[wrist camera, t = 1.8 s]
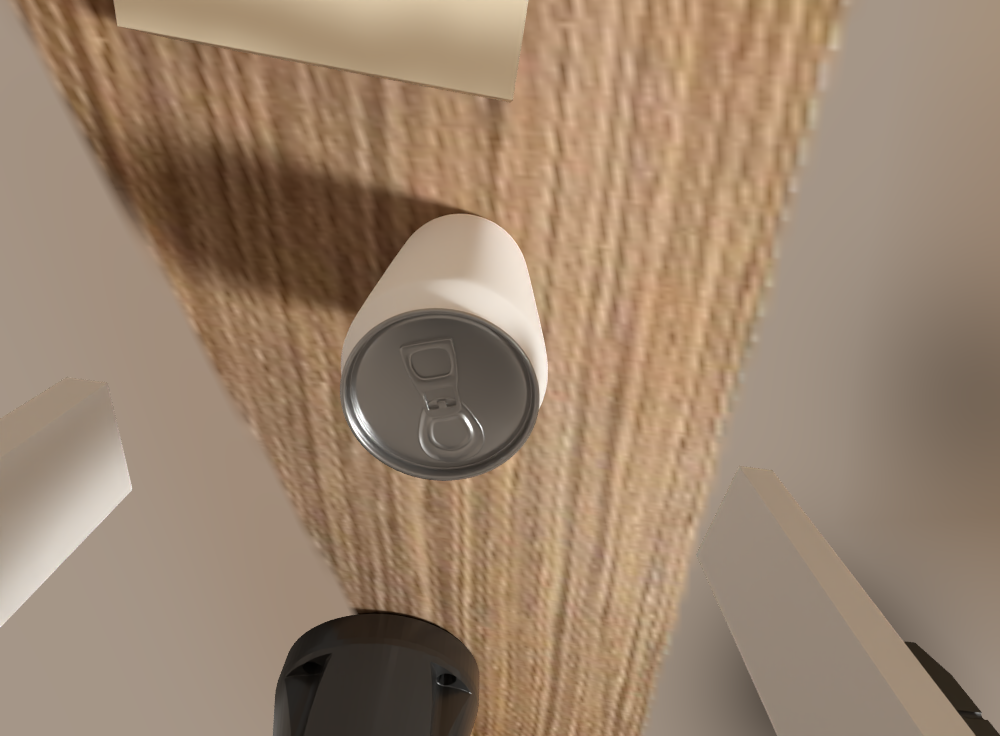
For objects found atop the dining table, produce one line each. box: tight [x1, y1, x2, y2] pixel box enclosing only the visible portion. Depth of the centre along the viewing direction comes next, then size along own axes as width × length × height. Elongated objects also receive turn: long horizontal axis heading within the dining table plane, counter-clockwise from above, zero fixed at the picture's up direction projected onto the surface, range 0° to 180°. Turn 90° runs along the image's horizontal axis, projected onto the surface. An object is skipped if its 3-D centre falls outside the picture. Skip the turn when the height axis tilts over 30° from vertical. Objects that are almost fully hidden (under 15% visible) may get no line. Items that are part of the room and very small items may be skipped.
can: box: [340, 214, 548, 481], centre depth 19 cm, size 6×6×12 cm
